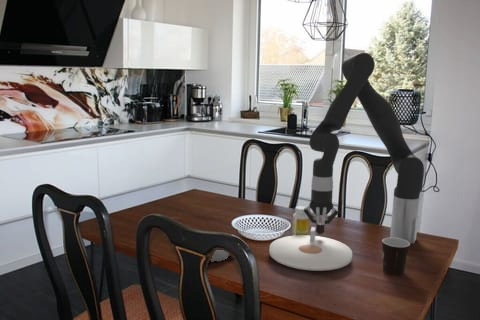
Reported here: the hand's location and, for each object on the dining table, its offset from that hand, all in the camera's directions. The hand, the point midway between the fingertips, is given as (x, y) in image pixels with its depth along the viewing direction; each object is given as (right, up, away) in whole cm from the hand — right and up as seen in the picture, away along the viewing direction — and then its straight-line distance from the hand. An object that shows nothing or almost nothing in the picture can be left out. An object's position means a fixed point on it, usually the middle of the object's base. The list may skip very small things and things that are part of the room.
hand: (319, 233), depth 175 cm
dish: (-38, -6, -8) cm, 40 cm away
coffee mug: (+20, -10, -20) cm, 30 cm away
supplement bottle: (-6, -3, +13) cm, 14 cm away
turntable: (-5, -5, -10) cm, 12 cm away
